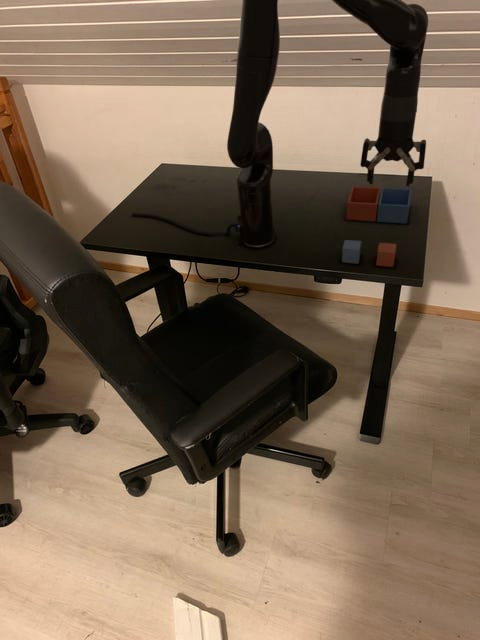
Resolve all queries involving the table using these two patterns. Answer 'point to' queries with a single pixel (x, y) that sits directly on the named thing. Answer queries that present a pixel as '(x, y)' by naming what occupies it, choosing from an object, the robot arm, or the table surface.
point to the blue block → (351, 251)
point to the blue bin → (394, 205)
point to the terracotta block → (386, 254)
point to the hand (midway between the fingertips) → (389, 183)
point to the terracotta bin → (363, 203)
